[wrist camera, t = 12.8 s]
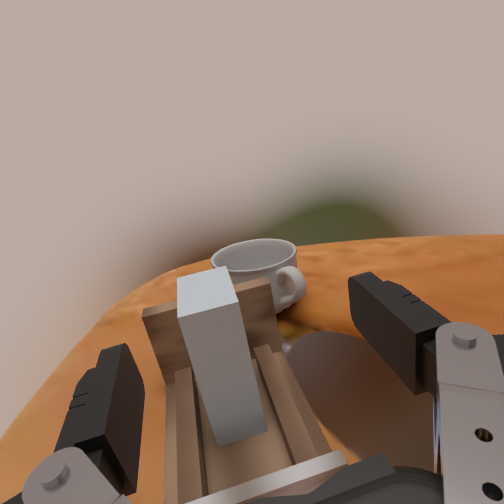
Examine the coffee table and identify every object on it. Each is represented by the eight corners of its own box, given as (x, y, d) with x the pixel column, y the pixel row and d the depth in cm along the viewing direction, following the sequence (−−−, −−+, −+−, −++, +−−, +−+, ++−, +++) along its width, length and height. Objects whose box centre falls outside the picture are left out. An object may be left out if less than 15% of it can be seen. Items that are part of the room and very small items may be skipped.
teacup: (212, 302, 48) (199, 252, 45) (278, 277, 52) (270, 228, 49) (254, 357, 36) (240, 292, 33) (336, 318, 40) (330, 257, 37)
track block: (279, 349, 37) (266, 276, 33) (351, 498, 22) (341, 396, 19) (168, 382, 35) (143, 309, 32) (168, 567, 20) (120, 469, 17)
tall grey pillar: (251, 378, 32) (226, 265, 27) (267, 431, 27) (238, 301, 22) (210, 390, 32) (176, 277, 27) (217, 447, 26) (177, 317, 21)
